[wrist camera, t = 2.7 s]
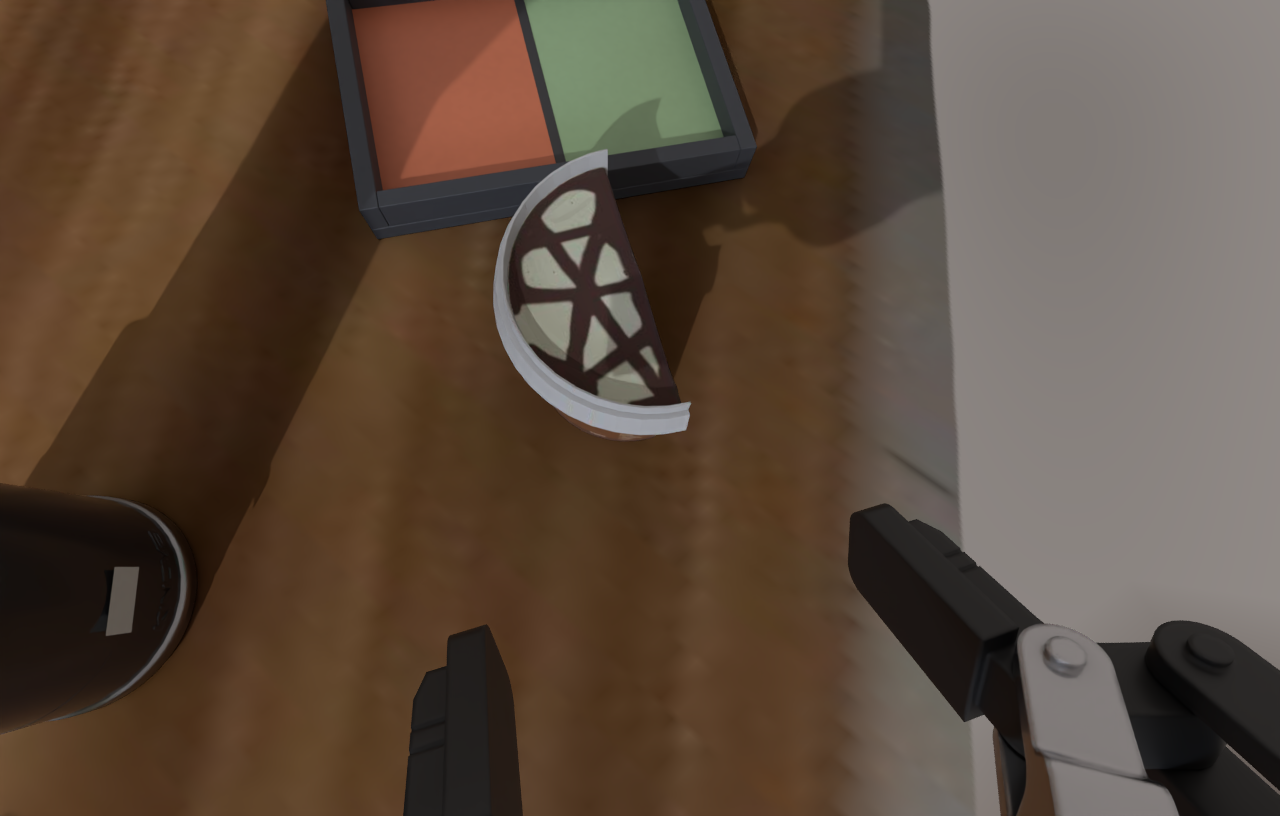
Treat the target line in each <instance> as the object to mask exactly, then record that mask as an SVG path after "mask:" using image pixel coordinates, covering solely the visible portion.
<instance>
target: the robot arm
mask: <svg viewBox="0 0 1280 816" xmlns="http://www.w3.org/2000/svg"><path fill="white" fill-rule="evenodd" d="M848 566H849V571H850V575H851V577H852V580H853V582H854V584H855V586H856V587H857V589H858V590H859V592H860V593H861V594H862V595H863V597H864V598H865V599H866V600H867V602H868V603H869V604H870V605H871V607H872V608H873V609H874V610H875V612H876V613H877V614H878V615H879V617H880V618H881V619H882V620H883V622H884V623H885V624H886V625H887V627H888V628H889V629H890V630H891V632H892V633H893V634H894V635H895V637H896V638H897V639H898V640H899V641H900V643H901V644H902V645H903V646H904V648H905V649H906V650H907V651H908V653H909V654H910V655H911V656H912V658H913V659H914V660H915V661H916V663H917V664H918V665H919V666H920V668H921V669H922V670H923V671H924V673H925V674H926V675H927V676H928V678H929V679H930V680H931V681H932V683H933V684H934V685H935V686H936V688H937V689H938V690H939V691H940V692H941V694H942V695H943V696H944V697H945V699H946V700H947V701H948V702H949V704H950V705H951V706H952V707H953V709H954V710H955V711H956V712H957V714H958V715H959V716H960V717H961V719H962V720H963V721H964V722H966V721H969V720H971V719H974V718H976V717H979V716H981V715H985V716H986V717H987V718H988V720H989V721H990V722H991V723H992V724H993V725H994V729H993V744H994V753H995V764H996V773H997V783H998V792H999V803H1000V813H1001V816H1280V795H1279V794H1277V793H1276V792H1275V791H1274V790H1273V789H1272V788H1271V787H1270V786H1269V785H1268V784H1266V783H1265V782H1264V781H1263V780H1262V779H1261V778H1260V777H1259V776H1258V775H1256V774H1255V773H1254V772H1253V771H1252V770H1251V769H1250V768H1249V767H1248V766H1247V765H1245V764H1244V763H1243V762H1242V761H1241V760H1240V759H1239V758H1238V757H1237V756H1236V755H1235V754H1233V753H1232V752H1231V751H1230V750H1229V749H1228V748H1227V747H1226V744H1228V745H1229V746H1231V747H1232V748H1233V749H1234V750H1235V751H1236V752H1237V753H1238V754H1240V755H1241V756H1242V757H1243V758H1244V759H1245V760H1246V761H1247V762H1248V763H1249V764H1251V765H1252V766H1253V767H1254V768H1255V769H1256V770H1257V771H1258V772H1259V773H1261V774H1262V775H1263V776H1264V777H1265V778H1266V779H1267V780H1268V781H1269V782H1271V783H1272V784H1273V785H1274V786H1275V787H1277V789H1278V790H1279V791H1280V670H1278V669H1277V668H1276V667H1274V666H1273V665H1271V664H1270V663H1269V662H1267V661H1266V660H1265V659H1263V658H1262V657H1261V656H1259V655H1258V654H1257V653H1255V652H1254V651H1253V650H1251V649H1250V648H1249V647H1247V646H1246V645H1244V644H1243V643H1242V642H1240V641H1239V640H1237V639H1236V638H1234V637H1232V636H1231V635H1229V634H1227V633H1225V632H1223V631H1221V630H1219V629H1216V628H1214V627H1211V626H1208V625H1204V624H1201V623H1197V622H1191V621H1171V622H1166V623H1164V624H1162V625H1160V626H1159V627H1158V628H1157V629H1156V631H1155V633H1154V635H1153V637H1152V639H1151V642H1139V643H1138V642H1136V643H1095V642H1094V641H1093V640H1091V639H1090V638H1089V637H1087V636H1085V635H1083V634H1082V633H1080V632H1077V631H1075V630H1073V629H1070V628H1067V627H1064V626H1060V625H1054V624H1044V623H1043V622H1042V621H1040V620H1039V619H1038V618H1037V617H1036V616H1034V615H1033V614H1032V613H1031V612H1030V611H1029V610H1028V609H1027V608H1026V607H1025V606H1023V605H1022V604H1021V603H1020V602H1019V601H1018V600H1017V599H1016V598H1015V597H1013V596H1012V595H1011V594H1010V593H1009V592H1008V591H1007V590H1006V589H1004V587H1002V586H1001V585H1000V584H999V583H998V582H997V581H996V580H995V579H993V578H992V577H991V576H990V575H989V574H988V573H987V572H986V571H985V570H984V569H982V568H981V567H980V566H979V567H978V566H977V565H976V562H975V561H974V560H972V559H971V558H970V557H969V556H968V555H967V554H966V553H965V552H961V550H960V548H959V547H958V546H957V545H956V544H955V543H954V542H953V541H951V540H950V539H949V538H948V537H947V536H946V535H945V534H944V533H943V532H941V531H939V530H937V529H935V528H933V527H931V526H929V525H927V524H925V523H923V522H921V521H919V520H917V519H916V520H912V521H909V522H908V521H907V520H906V519H905V518H904V517H903V516H902V515H901V514H899V513H898V512H897V511H896V510H895V509H894V508H893V507H892V506H890V505H889V504H885V503H884V504H880V505H877V506H874V507H871V508H867V509H864V510H861V511H858V512H854V513H853V514H852V515H851V518H850V532H849V553H848ZM196 591H197V573H196V565H195V561H194V557H193V554H192V551H191V548H190V546H189V544H188V542H187V540H186V538H185V537H184V535H183V534H182V532H181V531H180V529H179V528H178V527H177V526H176V525H175V524H174V523H173V522H172V521H171V520H170V519H169V518H168V517H166V516H165V515H164V514H162V513H161V512H159V511H158V510H156V509H154V508H152V507H150V506H147V505H145V504H142V503H139V502H136V501H132V500H127V499H121V498H114V497H106V496H83V495H76V494H69V493H63V492H58V491H52V490H45V489H38V488H31V487H24V486H17V485H10V484H3V483H0V734H4V733H7V732H11V731H14V730H18V729H21V728H25V727H28V726H32V725H35V724H38V723H42V722H46V721H53V720H60V719H64V718H69V717H72V716H76V715H79V714H82V713H86V712H89V711H92V710H96V709H99V708H101V707H104V706H106V705H109V704H111V703H113V702H115V701H117V700H119V699H121V698H123V697H124V696H126V695H128V694H129V693H131V692H132V691H134V690H135V689H137V688H138V687H139V686H141V685H142V684H143V683H144V682H146V681H147V680H148V679H149V678H150V677H151V676H153V674H154V673H155V672H156V671H157V670H158V669H159V668H160V667H161V666H162V665H163V664H164V663H165V662H166V660H167V659H168V658H169V657H170V655H171V654H172V653H173V651H174V650H175V648H176V647H177V645H178V643H179V642H180V640H181V638H182V637H183V634H184V632H185V630H186V628H187V626H188V623H189V621H190V618H191V615H192V612H193V608H194V604H195V599H196ZM411 729H412V733H410V745H409V752H410V756H408V767H407V779H406V790H405V802H404V813H403V816H523V812H522V800H521V788H520V775H519V763H518V750H517V738H516V725H515V713H514V701H513V694H512V689H511V684H510V680H509V676H508V673H507V670H506V668H505V665H504V663H503V660H502V658H501V655H500V653H499V650H498V648H497V645H496V643H495V640H494V638H493V636H492V633H491V631H490V628H489V627H488V625H487V624H486V625H483V626H479V627H476V628H473V629H470V630H466V631H463V632H460V633H457V634H453V635H450V636H449V638H448V644H447V666H445V667H442V668H438V669H435V670H432V671H429V672H426V674H425V677H424V679H423V681H422V683H421V685H420V687H419V689H418V691H417V693H416V695H415V697H414V699H413V710H412V722H411Z"/></svg>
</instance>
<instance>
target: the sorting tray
mask: <svg viewBox="0 0 1280 816" xmlns="http://www.w3.org/2000/svg"><path fill="white" fill-rule="evenodd" d="M326 5H327V11H328V17H329V24H330V30H331V36H332V42H333V49H334V55H335V61H336V68H337V74H338V80H339V87H340V93H341V99H342V106H343V112H344V118H345V124H346V131H347V137H348V143H349V150H350V156H351V162H352V169H353V175H354V181H355V187H356V194H357V200H358V206H359V211H360V212H361V214H362V216H363V217H364V219H365V220H366V222H367V223H368V225H369V227H370V228H371V230H372V231H373V233H374V234H375V236H376V238H377V239H382V238H387V237H393V236H399V235H405V234H411V233H417V232H423V231H429V230H435V229H441V228H447V227H453V226H459V225H465V224H471V223H476V222H482V221H488V220H494V219H500V218H506V217H512V216H514V214H515V213H516V211H517V209H518V208H519V207H520V205H521V204H522V202H523V201H524V199H525V198H526V197H527V196H528V195H529V193H530V192H531V191H532V190H533V189H534V188H535V186H536V185H538V184H539V183H540V182H541V181H542V180H543V179H545V178H546V177H547V176H548V175H549V174H550V173H552V172H553V171H555V170H557V169H558V168H560V167H561V166H563V165H565V164H566V163H568V162H570V161H572V160H575V159H577V158H579V157H582V156H584V155H586V154H589V153H593V152H596V151H600V150H604V149H608V179H609V182H610V185H611V188H612V191H613V194H614V198H615V199H619V198H625V197H631V196H637V195H643V194H649V193H655V192H660V191H666V190H672V189H678V188H684V187H690V186H696V185H702V184H708V183H714V182H720V181H726V180H732V179H738V178H743V177H745V174H746V172H747V169H748V167H749V165H750V162H751V160H752V157H753V155H754V153H755V150H756V148H757V145H756V143H755V140H754V137H753V134H752V131H751V128H750V126H749V123H748V120H747V117H746V114H745V111H744V109H743V106H742V103H741V100H740V97H739V95H738V92H737V89H736V86H735V83H734V80H733V78H732V75H731V72H730V69H729V66H728V63H727V61H726V58H725V55H724V52H723V49H722V47H721V44H720V41H719V38H718V35H717V32H716V30H715V27H714V24H713V21H712V18H711V15H710V13H709V10H708V7H707V4H706V1H705V0H326Z"/></svg>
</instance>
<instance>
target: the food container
mask: <svg viewBox="0 0 1280 816" xmlns="http://www.w3.org/2000/svg"><path fill="white" fill-rule="evenodd" d="M493 306H494V312H495V318H496V324H497V328H498V331H499V334H500V337H501V340H502V342H503V345H504V348H505V350H506V352H507V353H508V355H509V357H510V359H511V361H512V362H513V364H514V366H515V368H516V369H517V370H518V371H519V373H520V374H521V375H522V376H523V378H524V379H525V380H526V381H527V383H528V384H529V385H530V386H531V387H532V388H533V389H534V390H535V391H536V392H537V393H538V394H539V395H541V396H542V397H543V398H544V399H545V400H546V401H547V402H548V403H550V404H551V405H553V406H554V408H555V409H556V410H557V411H558V412H559V414H560V415H561V416H563V417H564V418H565V419H566V420H567V421H568V422H569V423H571V424H572V425H574V426H576V427H577V428H579V429H580V430H582V431H584V432H586V433H589V434H591V435H593V436H596V437H600V438H604V439H608V440H616V441H638V440H643V439H648V438H653V437H654V436H655V435H657V434H668V433H673V432H679V431H684V430H686V428H687V424H688V420H689V417H690V414H689V411H688V409H689V407H690V405H691V403H690V402H686V403H681V401H680V398H679V395H678V390H677V386H676V384H675V382H674V380H673V378H672V375H671V372H670V369H669V366H668V363H667V360H666V356H665V353H664V350H663V347H662V344H661V340H660V337H659V334H658V331H657V327H656V324H655V321H654V318H653V314H652V311H651V307H650V304H649V300H648V297H647V293H646V290H645V286H644V283H643V279H642V276H641V273H640V270H639V268H638V265H637V262H636V260H635V257H634V254H633V251H632V249H631V246H630V243H629V240H628V237H627V234H626V231H625V228H624V225H623V222H622V219H621V216H620V213H619V210H618V207H617V204H616V201H615V198H614V194H613V191H612V188H611V185H610V182H609V179H608V149H604V150H600V151H596V152H593V153H589V154H586V155H584V156H582V157H579V158H577V159H575V160H572V161H570V162H568V163H566V164H565V165H563V166H561V167H560V168H558V169H557V170H555V171H553V172H552V173H550V174H549V175H548V176H547V177H546V178H545V179H543V180H542V181H541V182H540V183H539V184H538V185H536V186H535V188H534V189H533V190H532V191H531V192H530V193H529V195H528V196H527V197H526V198H525V199H524V201H523V202H522V204H521V205H520V207H519V208H518V209H517V211H516V213H515V214H514V216H513V218H512V219H511V221H510V223H509V224H508V226H507V229H506V231H505V234H504V237H503V239H502V242H501V244H500V248H499V253H498V259H497V264H496V270H495V277H494V293H493Z"/></svg>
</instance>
